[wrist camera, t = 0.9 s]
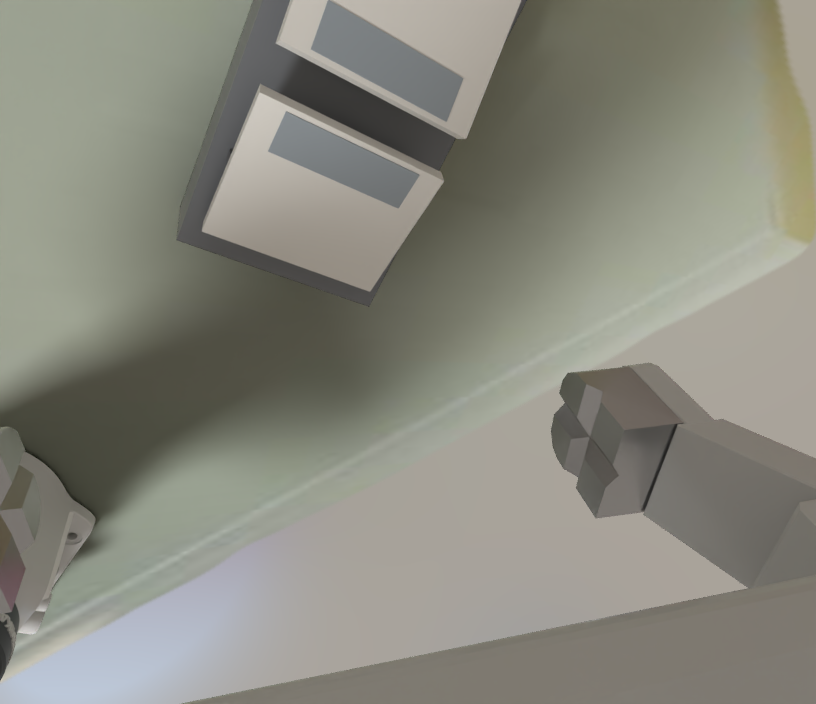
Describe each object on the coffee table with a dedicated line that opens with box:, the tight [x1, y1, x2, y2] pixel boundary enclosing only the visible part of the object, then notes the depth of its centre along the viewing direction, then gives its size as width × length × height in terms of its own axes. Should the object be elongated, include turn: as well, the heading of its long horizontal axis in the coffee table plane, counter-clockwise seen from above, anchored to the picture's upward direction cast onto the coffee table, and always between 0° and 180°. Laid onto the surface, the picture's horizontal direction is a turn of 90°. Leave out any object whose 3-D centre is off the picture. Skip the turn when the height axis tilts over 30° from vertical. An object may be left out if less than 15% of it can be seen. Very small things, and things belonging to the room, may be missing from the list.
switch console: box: [177, 0, 527, 307], centre depth 37 cm, size 23×13×7 cm, turn 152°
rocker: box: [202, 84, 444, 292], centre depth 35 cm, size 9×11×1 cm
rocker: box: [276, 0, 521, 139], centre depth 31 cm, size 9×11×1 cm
